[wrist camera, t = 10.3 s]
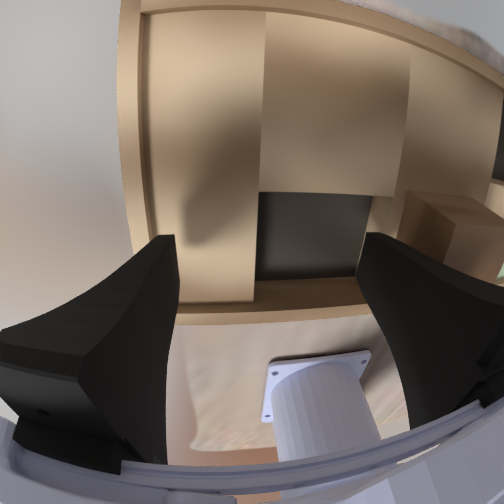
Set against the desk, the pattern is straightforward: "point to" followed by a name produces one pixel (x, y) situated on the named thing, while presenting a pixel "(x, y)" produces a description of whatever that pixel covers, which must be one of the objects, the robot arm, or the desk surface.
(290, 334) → the desk surface
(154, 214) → the tray
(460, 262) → the walnut block
